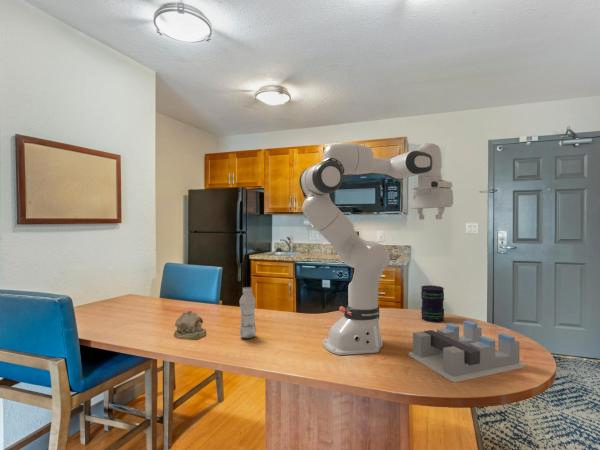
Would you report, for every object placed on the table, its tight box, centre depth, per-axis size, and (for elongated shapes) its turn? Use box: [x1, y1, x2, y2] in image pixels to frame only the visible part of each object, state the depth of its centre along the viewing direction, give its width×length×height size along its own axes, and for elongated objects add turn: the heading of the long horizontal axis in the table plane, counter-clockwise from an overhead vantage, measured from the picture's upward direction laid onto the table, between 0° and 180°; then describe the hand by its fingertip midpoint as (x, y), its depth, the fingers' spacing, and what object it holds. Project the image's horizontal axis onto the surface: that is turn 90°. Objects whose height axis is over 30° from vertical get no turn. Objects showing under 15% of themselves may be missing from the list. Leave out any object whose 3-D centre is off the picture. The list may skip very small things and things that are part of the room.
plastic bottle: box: [239, 286, 257, 339], centre depth 131 cm, size 6×7×20 cm
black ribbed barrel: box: [420, 284, 445, 324], centre depth 151 cm, size 10×10×15 cm
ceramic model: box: [173, 310, 207, 340], centre depth 135 cm, size 14×11×10 cm
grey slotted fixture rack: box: [408, 320, 526, 384], centre depth 106 cm, size 28×20×10 cm
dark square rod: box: [423, 329, 480, 365], centre depth 104 cm, size 4×20×4 cm, turn 19°
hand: (429, 219), depth 131 cm, fingers open, 8 cm apart
